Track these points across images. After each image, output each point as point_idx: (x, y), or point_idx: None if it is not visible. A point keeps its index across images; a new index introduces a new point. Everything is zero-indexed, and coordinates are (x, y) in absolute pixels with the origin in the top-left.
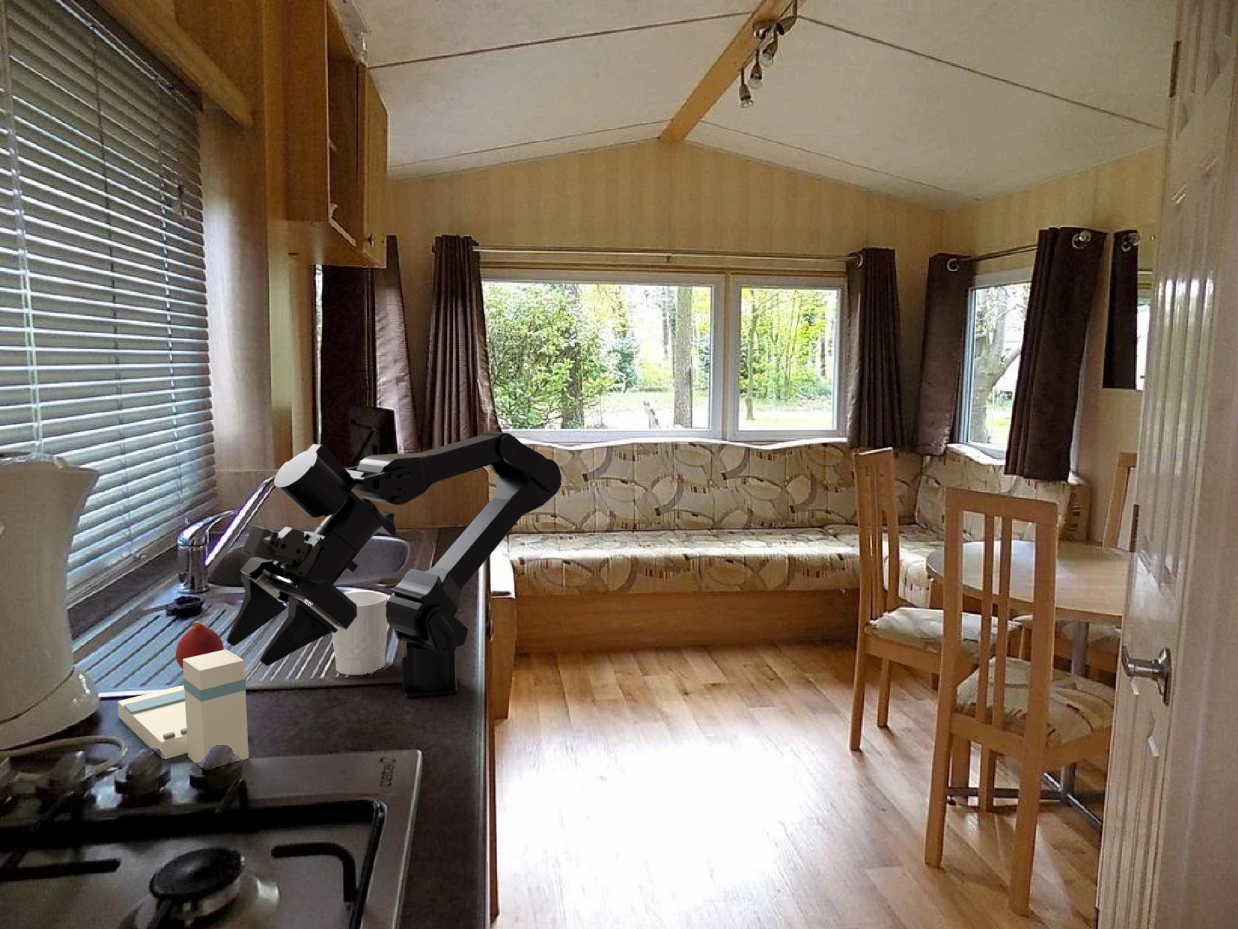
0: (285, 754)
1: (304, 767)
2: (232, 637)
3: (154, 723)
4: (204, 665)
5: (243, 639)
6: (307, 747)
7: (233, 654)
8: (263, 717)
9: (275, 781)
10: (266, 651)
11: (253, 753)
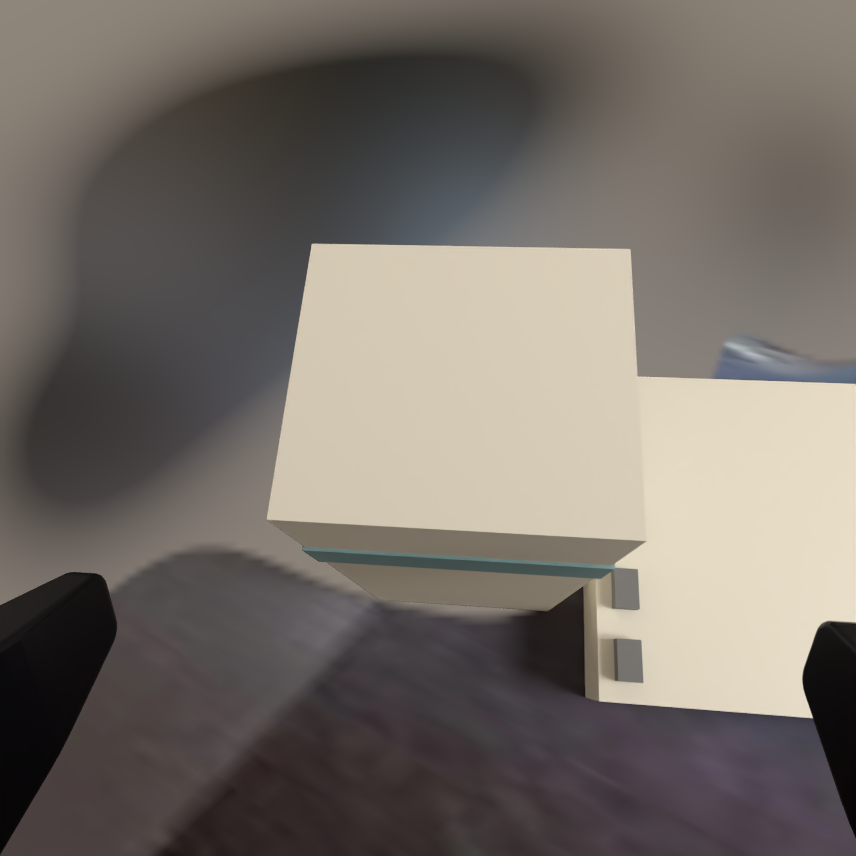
0: (302, 711)
1: (153, 703)
2: (848, 673)
3: (799, 414)
4: (385, 294)
5: (839, 791)
6: (287, 811)
7: (468, 525)
8: (732, 851)
9: (153, 580)
10: (3, 611)
11: (404, 631)
